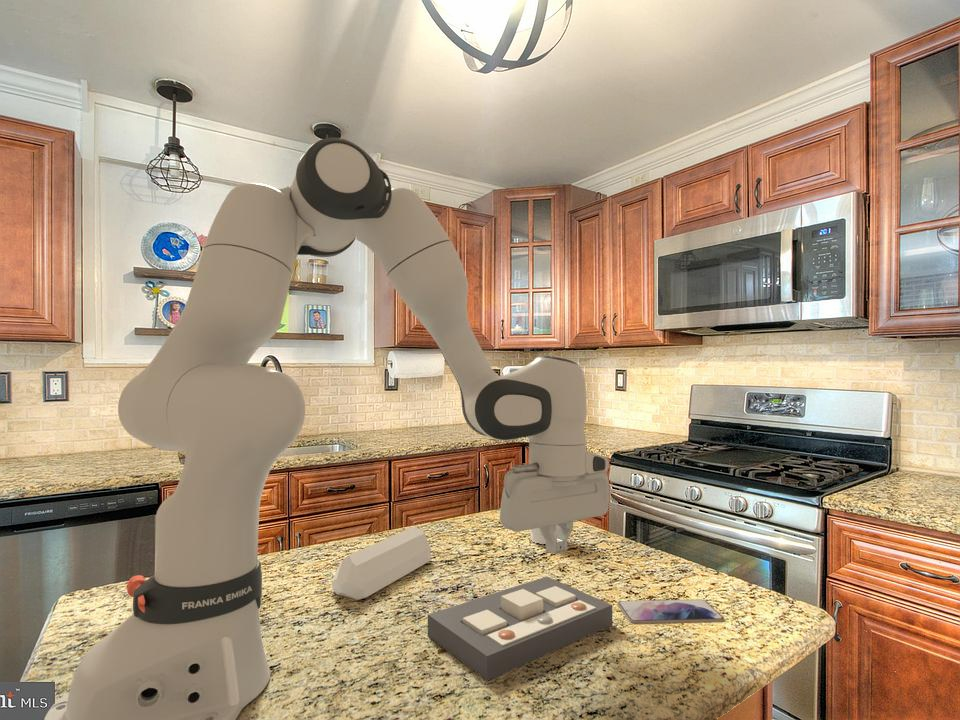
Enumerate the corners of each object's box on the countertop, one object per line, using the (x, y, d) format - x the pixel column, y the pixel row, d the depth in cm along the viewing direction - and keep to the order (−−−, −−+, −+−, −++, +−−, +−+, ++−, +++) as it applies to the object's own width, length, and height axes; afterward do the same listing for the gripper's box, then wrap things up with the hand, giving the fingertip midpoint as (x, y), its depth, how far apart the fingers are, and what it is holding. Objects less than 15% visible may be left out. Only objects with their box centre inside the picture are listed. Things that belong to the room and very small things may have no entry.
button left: (481, 652, 71) (481, 630, 71) (462, 639, 74) (462, 617, 74) (506, 642, 73) (506, 620, 73) (487, 630, 77) (487, 609, 77)
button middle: (520, 627, 75) (520, 606, 75) (501, 616, 78) (501, 596, 79) (543, 619, 78) (543, 598, 78) (523, 608, 81) (523, 588, 81)
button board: (487, 680, 65) (487, 652, 65) (427, 635, 76) (427, 611, 76) (612, 625, 80) (612, 602, 80) (547, 593, 91) (547, 573, 91)
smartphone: (726, 619, 81) (630, 621, 80) (726, 624, 81) (630, 626, 80) (704, 598, 88) (616, 600, 87) (704, 603, 88) (616, 605, 87)
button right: (555, 622, 79) (555, 602, 79) (535, 612, 83) (535, 592, 83) (575, 614, 82) (575, 595, 82) (555, 604, 85) (555, 586, 85)
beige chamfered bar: (366, 584, 85) (444, 542, 107) (337, 556, 88) (418, 520, 110) (348, 619, 87) (428, 571, 108) (320, 590, 90) (403, 549, 111)
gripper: (519, 469, 73) (517, 570, 73) (616, 459, 85) (615, 546, 85) (491, 463, 78) (490, 557, 78) (586, 454, 90) (586, 536, 90)
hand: (556, 551), depth 81 cm, fingers closed
